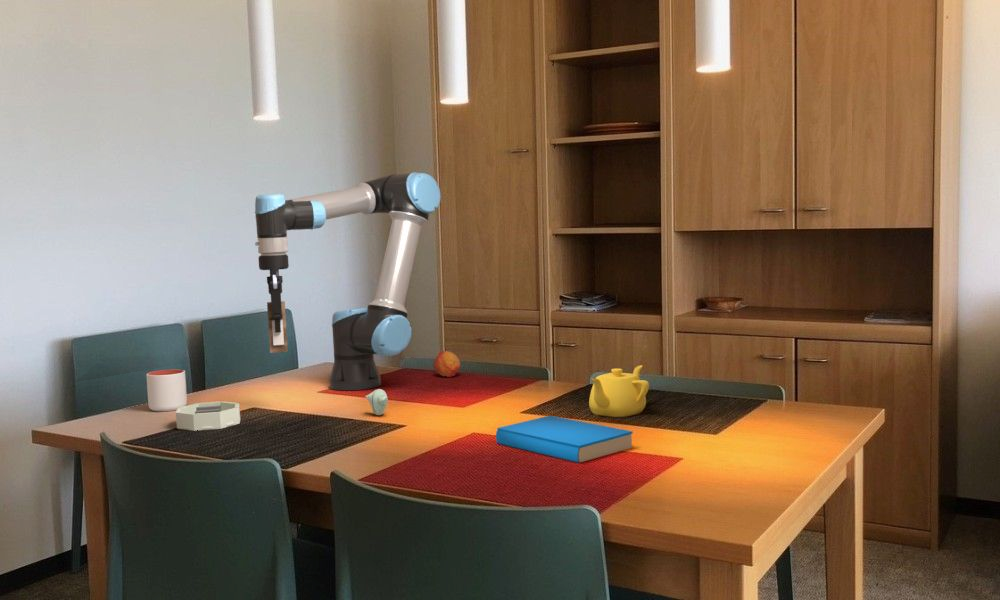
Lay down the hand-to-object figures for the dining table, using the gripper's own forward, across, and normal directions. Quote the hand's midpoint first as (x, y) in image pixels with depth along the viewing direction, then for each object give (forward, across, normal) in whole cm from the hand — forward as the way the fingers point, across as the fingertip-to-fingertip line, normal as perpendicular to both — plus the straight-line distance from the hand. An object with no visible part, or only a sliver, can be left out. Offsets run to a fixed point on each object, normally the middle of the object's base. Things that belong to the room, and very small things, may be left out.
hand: (278, 343), depth 258 cm
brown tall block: (+2, 0, 0) cm, 2 cm away
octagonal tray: (+18, +8, -18) cm, 27 cm away
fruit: (+19, -35, +51) cm, 64 cm away
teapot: (+19, +35, +82) cm, 91 cm away
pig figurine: (+18, +15, +24) cm, 34 cm away
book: (+19, +62, +58) cm, 87 cm away
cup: (+18, -17, -30) cm, 39 cm away
